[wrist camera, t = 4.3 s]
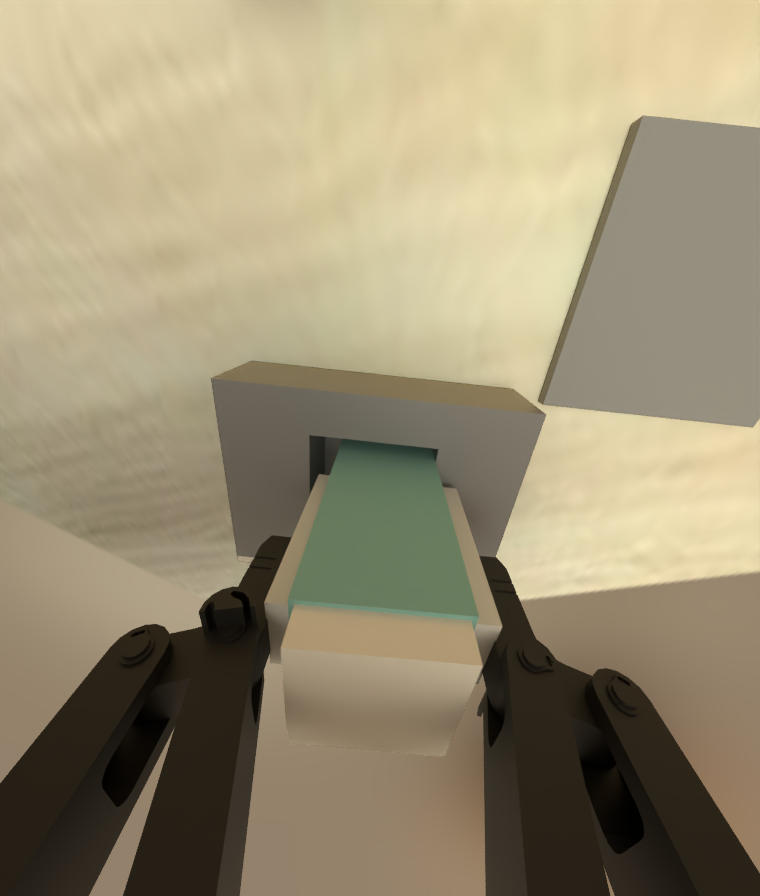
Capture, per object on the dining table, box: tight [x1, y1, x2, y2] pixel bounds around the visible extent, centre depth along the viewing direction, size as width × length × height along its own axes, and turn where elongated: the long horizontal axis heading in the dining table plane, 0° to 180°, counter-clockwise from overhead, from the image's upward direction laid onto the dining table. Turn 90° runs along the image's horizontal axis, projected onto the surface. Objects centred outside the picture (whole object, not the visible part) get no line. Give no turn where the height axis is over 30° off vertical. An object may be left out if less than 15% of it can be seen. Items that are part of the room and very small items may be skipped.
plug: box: [281, 439, 483, 757], centre depth 13 cm, size 4×4×12 cm
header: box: [211, 361, 546, 562], centre depth 17 cm, size 14×10×4 cm
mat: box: [538, 116, 760, 427], centre depth 14 cm, size 11×11×1 cm
